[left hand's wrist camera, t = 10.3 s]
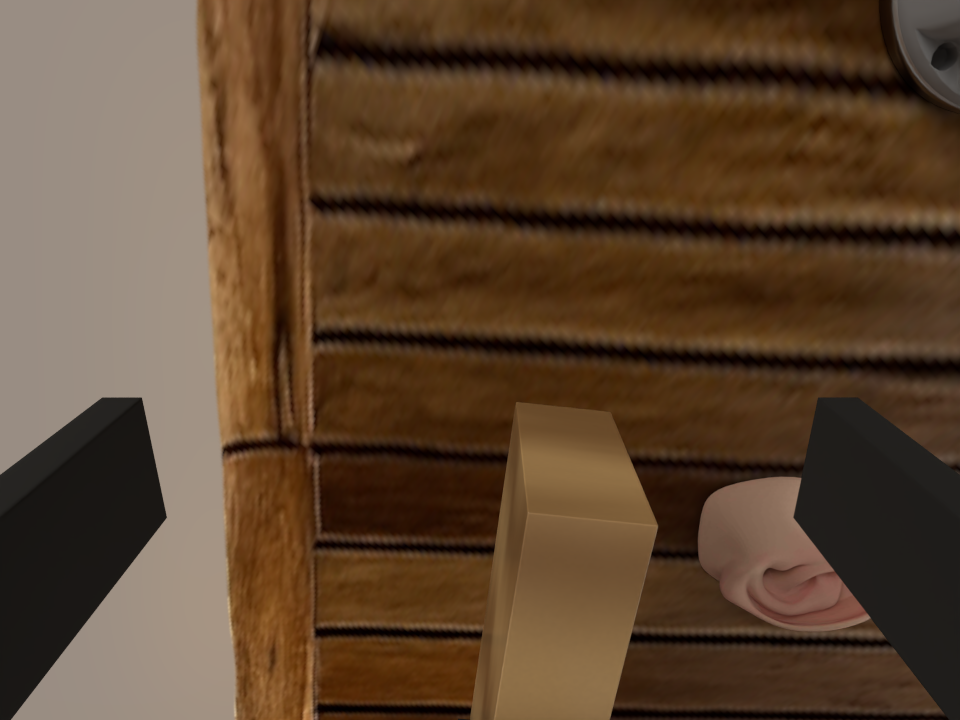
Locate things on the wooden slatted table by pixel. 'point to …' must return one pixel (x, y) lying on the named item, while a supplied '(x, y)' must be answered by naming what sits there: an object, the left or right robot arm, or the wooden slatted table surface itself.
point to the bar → (563, 569)
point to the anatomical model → (772, 558)
